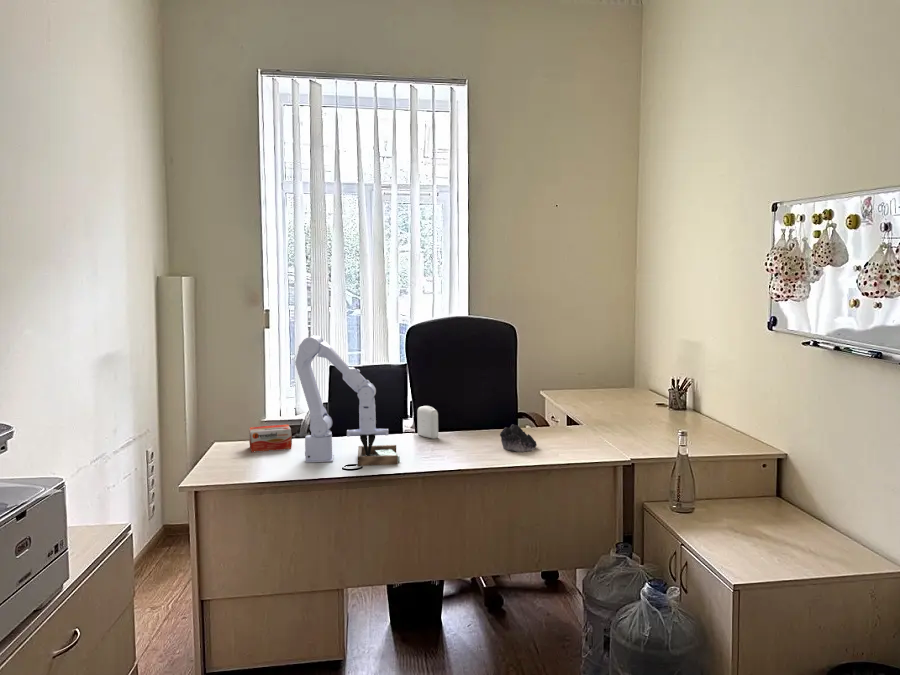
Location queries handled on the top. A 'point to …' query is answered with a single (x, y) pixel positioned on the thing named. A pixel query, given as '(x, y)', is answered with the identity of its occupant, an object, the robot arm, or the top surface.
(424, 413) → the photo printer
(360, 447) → the walnut box
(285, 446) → the medicine box
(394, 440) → the top surface
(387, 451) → the cover plate
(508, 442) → the crystal cluster
